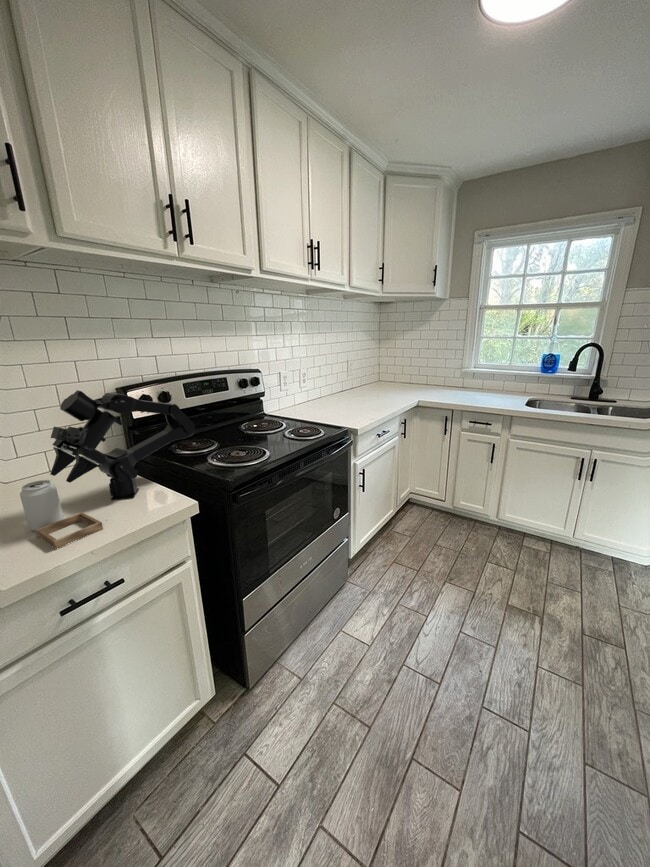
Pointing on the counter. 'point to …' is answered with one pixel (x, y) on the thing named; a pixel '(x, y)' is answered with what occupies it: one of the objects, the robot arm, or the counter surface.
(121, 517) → the counter surface
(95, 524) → the frame
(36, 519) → the can
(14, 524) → the counter surface
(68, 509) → the counter surface
